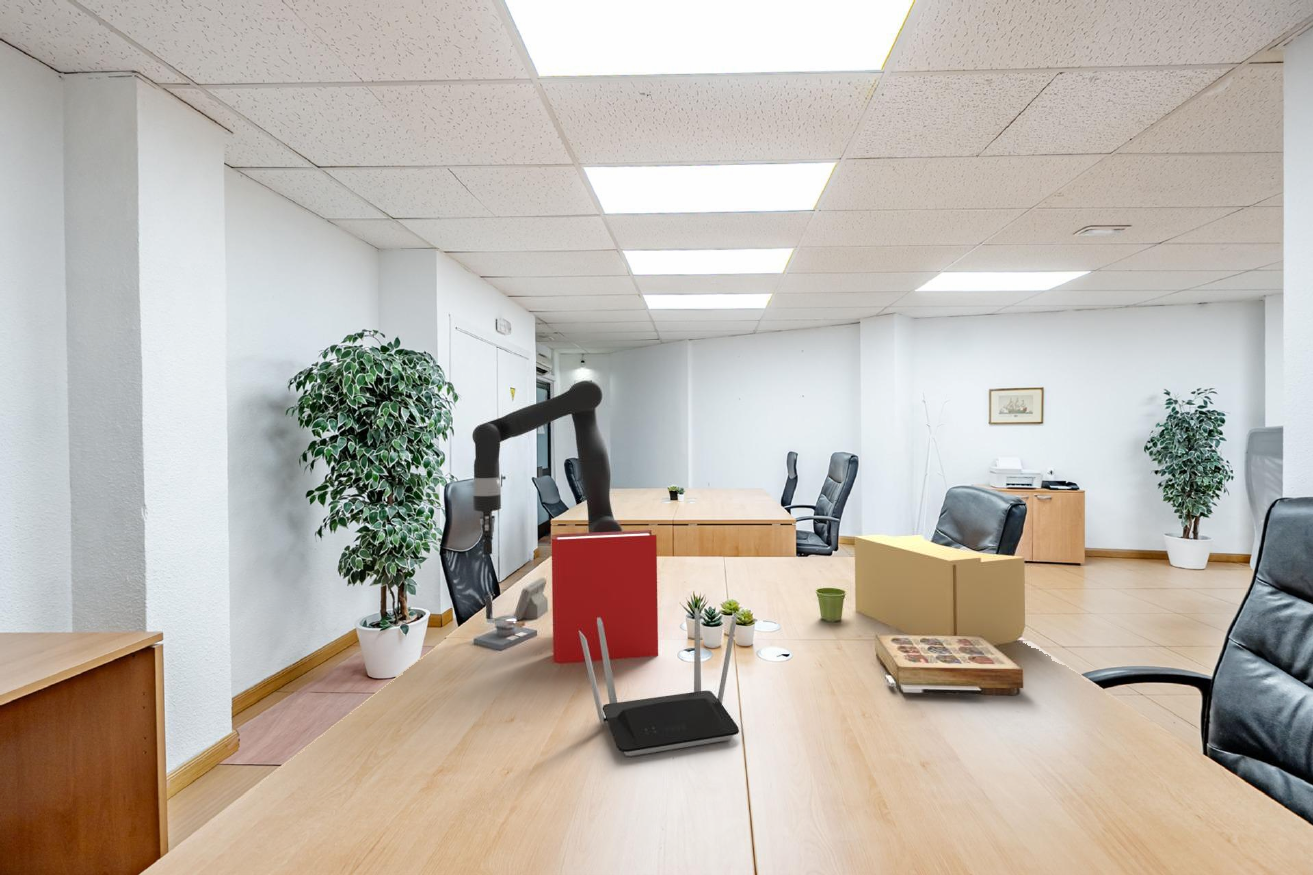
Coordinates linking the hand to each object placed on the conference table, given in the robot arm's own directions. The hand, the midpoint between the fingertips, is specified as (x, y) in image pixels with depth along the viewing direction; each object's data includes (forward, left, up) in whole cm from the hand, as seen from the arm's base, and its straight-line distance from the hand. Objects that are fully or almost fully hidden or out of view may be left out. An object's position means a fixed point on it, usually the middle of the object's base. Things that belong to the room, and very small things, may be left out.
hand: (488, 553), depth 171 cm
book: (-35, -8, -25) cm, 44 cm away
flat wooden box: (-114, -35, -26) cm, 122 cm away
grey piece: (-3, -3, -21) cm, 21 cm away
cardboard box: (-107, -77, -25) cm, 134 cm away
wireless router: (-68, +17, -25) cm, 75 cm away
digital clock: (+8, -25, -25) cm, 36 cm away
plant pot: (-79, -67, -25) cm, 107 cm away
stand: (-3, -4, -25) cm, 25 cm away
